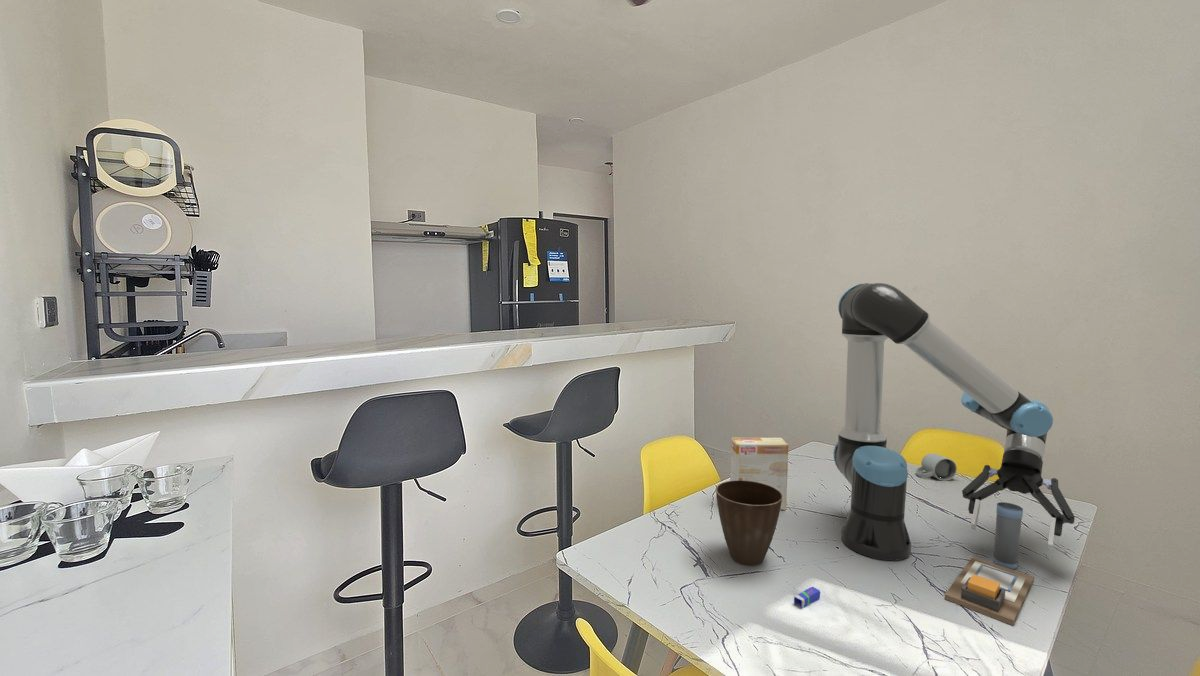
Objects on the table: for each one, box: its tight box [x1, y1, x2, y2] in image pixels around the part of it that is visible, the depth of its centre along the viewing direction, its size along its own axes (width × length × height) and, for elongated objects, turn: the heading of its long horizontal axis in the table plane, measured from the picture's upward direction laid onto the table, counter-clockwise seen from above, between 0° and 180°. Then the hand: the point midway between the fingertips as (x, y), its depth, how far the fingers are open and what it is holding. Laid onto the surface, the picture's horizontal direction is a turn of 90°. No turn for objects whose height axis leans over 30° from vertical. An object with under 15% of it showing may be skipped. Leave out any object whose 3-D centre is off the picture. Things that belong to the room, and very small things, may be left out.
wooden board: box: [944, 556, 1035, 626], centre depth 106 cm, size 22×11×3 cm, turn 132°
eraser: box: [793, 586, 821, 609], centre depth 102 cm, size 2×6×2 cm, turn 122°
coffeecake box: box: [729, 436, 789, 511], centre depth 147 cm, size 15×7×20 cm, turn 88°
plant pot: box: [715, 480, 782, 566], centre depth 118 cm, size 15×15×16 cm
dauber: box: [993, 501, 1024, 571], centre depth 115 cm, size 5×5×14 cm
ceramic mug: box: [915, 453, 958, 482], centre depth 170 cm, size 11×8×8 cm
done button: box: [967, 574, 1000, 600], centre depth 101 cm, size 4×4×2 cm
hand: (1010, 536), depth 114 cm, fingers open, 13 cm apart
